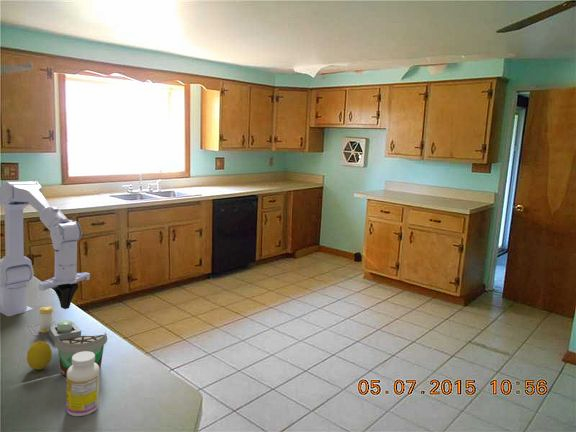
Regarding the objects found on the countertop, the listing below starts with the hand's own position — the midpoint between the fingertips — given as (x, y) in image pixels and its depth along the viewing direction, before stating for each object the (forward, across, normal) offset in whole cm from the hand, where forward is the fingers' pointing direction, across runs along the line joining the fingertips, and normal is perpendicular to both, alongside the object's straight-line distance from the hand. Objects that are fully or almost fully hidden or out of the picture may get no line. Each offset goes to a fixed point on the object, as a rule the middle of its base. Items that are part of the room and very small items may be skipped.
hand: (65, 307), depth 127 cm
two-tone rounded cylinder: (+9, -1, +7) cm, 12 cm away
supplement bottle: (+10, -17, -34) cm, 39 cm away
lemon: (+10, -14, -12) cm, 21 cm away
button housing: (+9, 0, 0) cm, 9 cm away
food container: (+10, -9, -22) cm, 25 cm away
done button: (+7, 0, 0) cm, 7 cm away
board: (+9, 0, +5) cm, 11 cm away
